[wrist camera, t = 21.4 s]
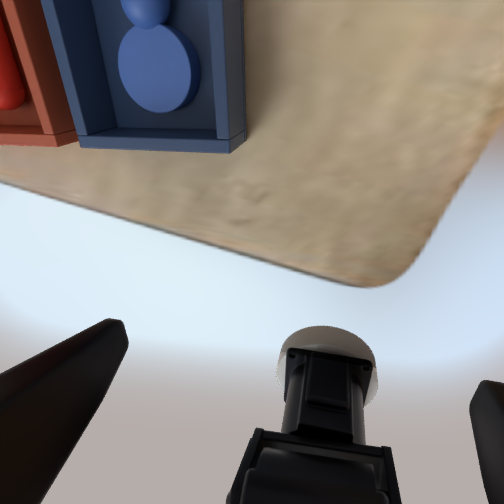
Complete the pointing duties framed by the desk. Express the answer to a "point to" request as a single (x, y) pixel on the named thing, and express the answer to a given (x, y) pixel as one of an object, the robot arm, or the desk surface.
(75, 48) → the near bin
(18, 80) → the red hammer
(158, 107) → the blue spoon
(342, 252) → the desk surface
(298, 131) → the desk surface
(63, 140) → the far bin
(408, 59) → the desk surface
